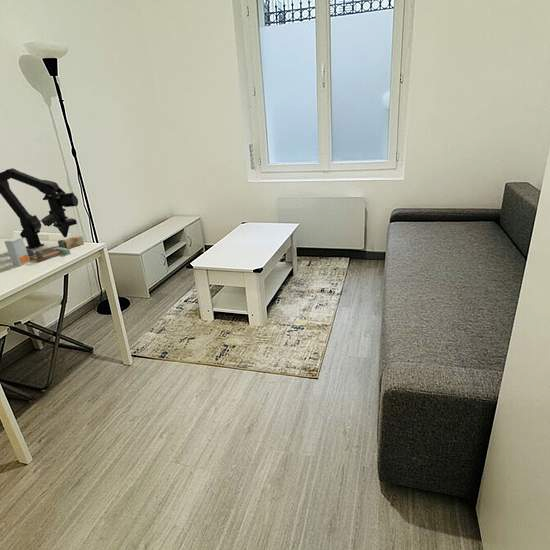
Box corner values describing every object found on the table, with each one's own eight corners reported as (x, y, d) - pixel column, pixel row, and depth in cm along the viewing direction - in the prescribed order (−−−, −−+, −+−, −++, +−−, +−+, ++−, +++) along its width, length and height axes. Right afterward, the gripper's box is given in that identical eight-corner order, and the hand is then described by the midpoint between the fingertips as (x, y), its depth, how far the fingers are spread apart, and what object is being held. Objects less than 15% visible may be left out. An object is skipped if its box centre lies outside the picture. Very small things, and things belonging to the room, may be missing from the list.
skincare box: (20, 266, 175) (11, 241, 170) (12, 266, 176) (3, 241, 171) (30, 261, 181) (22, 236, 176) (23, 261, 182) (14, 236, 177)
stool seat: (27, 259, 184) (24, 250, 182) (54, 249, 194) (51, 241, 192) (39, 262, 178) (36, 253, 177) (66, 252, 189) (64, 243, 187)
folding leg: (62, 251, 191) (60, 242, 189) (58, 250, 192) (55, 241, 191) (84, 243, 200) (81, 235, 198) (80, 242, 201) (77, 234, 200)
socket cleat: (59, 253, 188) (57, 248, 187) (62, 252, 190) (60, 247, 189) (67, 255, 185) (65, 250, 184) (70, 253, 186) (69, 249, 185)
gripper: (30, 210, 192) (40, 240, 199) (51, 213, 183) (61, 244, 189) (52, 205, 201) (60, 233, 207) (73, 207, 192) (81, 237, 198)
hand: (65, 237), depth 200 cm, fingers closed
